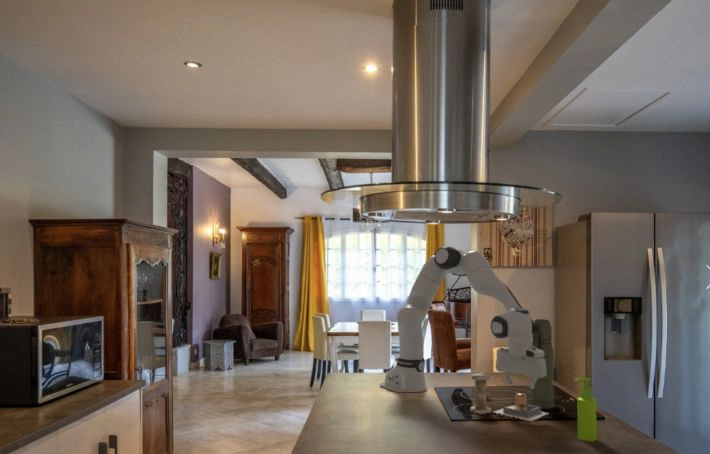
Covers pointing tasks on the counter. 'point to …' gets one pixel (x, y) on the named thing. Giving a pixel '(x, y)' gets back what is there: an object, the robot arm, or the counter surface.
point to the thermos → (543, 386)
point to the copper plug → (521, 401)
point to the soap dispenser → (586, 413)
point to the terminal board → (522, 413)
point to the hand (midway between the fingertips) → (520, 386)
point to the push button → (483, 373)
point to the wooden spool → (480, 394)
